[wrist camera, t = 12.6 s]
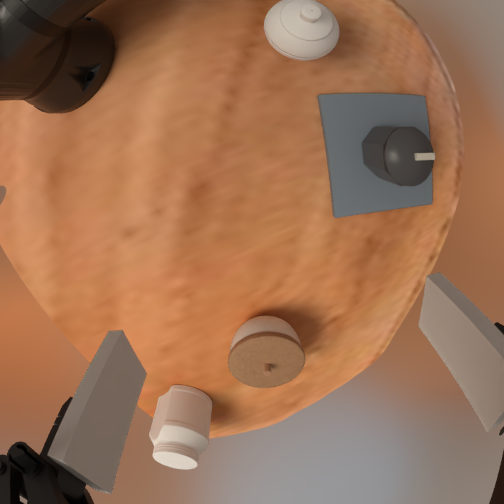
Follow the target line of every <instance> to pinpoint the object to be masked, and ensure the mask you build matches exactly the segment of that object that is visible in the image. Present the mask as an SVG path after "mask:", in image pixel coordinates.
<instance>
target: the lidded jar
mask: <svg viewBox="0 0 504 504" xmlns="http://www.w3.org/2000/svg"><path fill="white" fill-rule="evenodd" d="M304 364H305V354H304V351H303V348H302V346H301V342H300V340H299V337H298V335H297V333H296V332H295V330H294V329H293V328H292V327H291V325H289V324H288V323H287V322H286V321H284V320H282V319H280V318H278V317H275V316H267V315H265V316H257V317H254V318H252V319H249V320H248V321H246V322H245V323H243V324H242V325H241V326H240V327H239V328H238V330H237V331H236V333H235V334H234V337H233V339H232V342H231V346H230V354H229V358H228V366H229V370H230V372H231V373H232V375H233V376H234V377H235V378H236V379H237V380H238V381H240V382H242V383H244V384H246V385H248V386H252V387H258V388H271V387H276V386H280V385H283V384H285V383H287V382H289V381H291V380H293V379H294V378H295V377H296V376H297V375H298V374H299V373H300V372H301V371H302V369H303V367H304Z"/></svg>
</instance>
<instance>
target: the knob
mask: <svg viewBox="0 0 504 504" xmlns="http://www.w3.org/2000/svg"><path fill="white" fill-rule="evenodd" d="M362 152H363V161H364V165H365V166H366V167H367V168H368V169H370V170H371V171H372V172H373V173H374V174H375V175H376V176H377V177H378V178H380V179H383V180H386V181H388V182H391V183H393V184H396V185H398V186H417V185H419V184H421V183H423V182H424V181H425V180H426V179H427V178H428V176H429V175H430V173H431V171H432V168H433V162H434V160H435V153H433V148H432V145H431V143H430V141H429V139H428V138H427V136H426V135H425V134H424V133H423V132H422V131H420V130H418V129H417V128H416V127H401V126H389V127H373V128H372V129H371V131H370V132H369V133H368V135H367V136H366V137H365V139H364V140H363V141H362Z"/></svg>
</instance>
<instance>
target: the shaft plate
mask: <svg viewBox="0 0 504 504" xmlns="http://www.w3.org/2000/svg"><path fill="white" fill-rule="evenodd" d="M317 97H318V103H319V108H320V114H321V120H322V127H323V133H324V140H325V147H326V154H327V162H328V170H329V179H330V188H331V198H332V209H333V216H334V217H335V218H338V217H345V216H351V215H358V214H365V213H372V212H378V211H385V210H392V209H400V208H407V207H414V206H422V205H429V204H432V171H431V173H430V175H429V176H428V178H427V179H426V180H425V181H424V182H423V183H421V184H419V185H417V186H398V185H396V184H393V183H391V182H388V181H386V180H383V179H380V178H378V177H377V176H376V175H375V174H374V173H373V172H372V171H371V170H370V169H368V168H367V167H366V166H365V165H364V161H363V152H362V141H363V140H364V139H365V137H366V136H367V135H368V133H369V132H370V131H371V129H372V128H373V127H389V126H401V127H416V128H417V129H418V130H420V131H422V132H423V133H424V134H425V135H426V136H427V138H428V139H429V141H430V133H429V123H428V115H427V108H426V101H425V96H419V95H406V94H382V93H348V94H324V95H318V96H317Z"/></svg>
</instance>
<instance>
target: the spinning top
mask: <svg viewBox="0 0 504 504" xmlns="http://www.w3.org/2000/svg"><path fill="white" fill-rule="evenodd" d="M264 30H265V34H266V37H267V39H268V41H269V43H270V44H271V45H272V47H273V48H274V49H276V50H277V51H278V52H279V53H281V54H282V55H284V56H286V57H289V58H292V59H295V60H303V61H308V60H315V59H318V58H321V57H323V56H325V55H327V54H328V53H330V52H331V51H332V50H333V49H334V47H335V46H336V44H337V42H338V39H339V25H338V22H337V20H336V18H335V16H334V15H333V13H332V12H331V11H330V10H329V9H328V8H327V7H326V6H324V5H323V4H321V3H319V2H317V1H315V0H282V1H280V2H278V3H277V4H275V5H274V6H273V7H272V8H271V9H270V10H269V12H268V13H267V15H266V17H265V21H264Z"/></svg>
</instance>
